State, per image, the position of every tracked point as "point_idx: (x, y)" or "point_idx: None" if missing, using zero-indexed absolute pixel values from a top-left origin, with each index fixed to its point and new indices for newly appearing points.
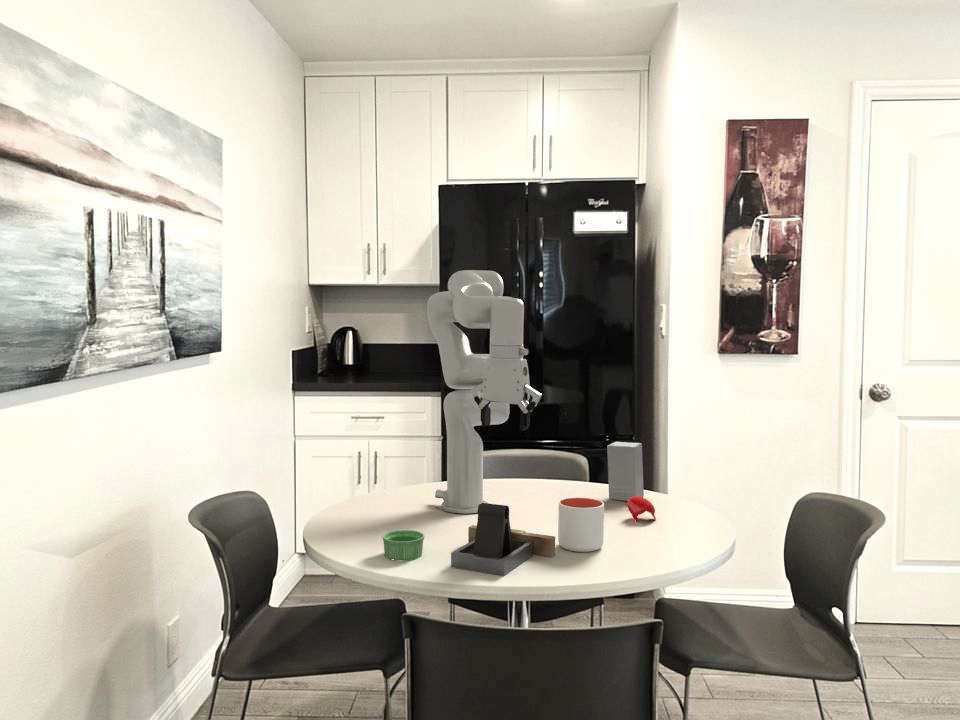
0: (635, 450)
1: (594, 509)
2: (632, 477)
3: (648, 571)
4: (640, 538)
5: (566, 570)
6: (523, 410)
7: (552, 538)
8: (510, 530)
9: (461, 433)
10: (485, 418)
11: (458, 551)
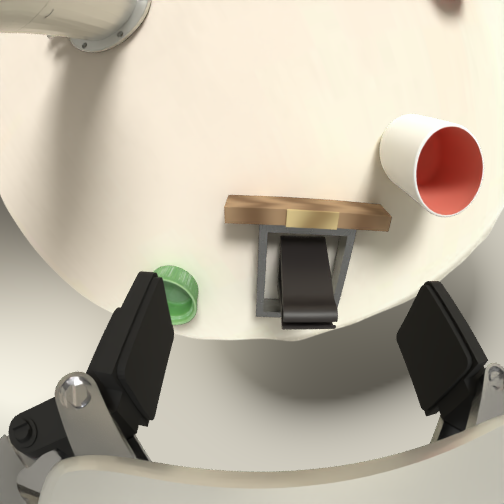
0: None
1: (469, 202)
2: None
3: (478, 227)
4: (472, 82)
5: (400, 260)
6: (446, 421)
7: (388, 228)
8: (330, 278)
9: None
10: (162, 364)
11: (262, 309)
